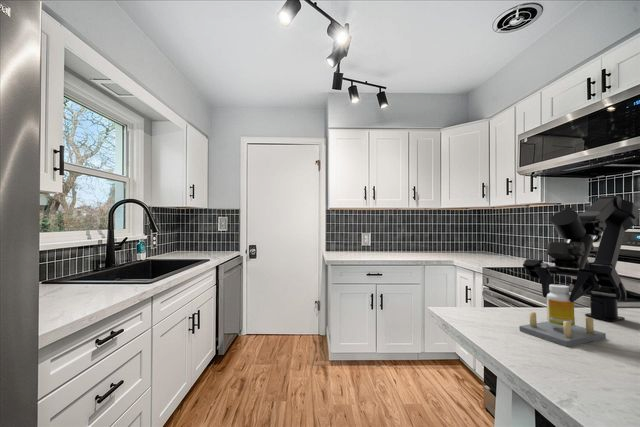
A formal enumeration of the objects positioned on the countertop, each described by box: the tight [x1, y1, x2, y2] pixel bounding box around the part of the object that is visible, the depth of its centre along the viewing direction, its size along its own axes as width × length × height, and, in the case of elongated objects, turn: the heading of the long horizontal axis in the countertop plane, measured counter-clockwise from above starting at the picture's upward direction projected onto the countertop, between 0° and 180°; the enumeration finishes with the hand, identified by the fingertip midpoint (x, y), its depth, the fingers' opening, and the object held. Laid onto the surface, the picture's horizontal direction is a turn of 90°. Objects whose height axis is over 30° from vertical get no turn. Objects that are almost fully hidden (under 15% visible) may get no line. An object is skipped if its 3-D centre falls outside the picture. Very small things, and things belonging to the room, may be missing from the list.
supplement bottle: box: [545, 283, 576, 328], centre depth 75 cm, size 5×5×10 cm
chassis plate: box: [518, 311, 607, 348], centre depth 75 cm, size 14×11×5 cm
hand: (556, 298), depth 74 cm, fingers closed on supplement bottle, 5 cm apart
